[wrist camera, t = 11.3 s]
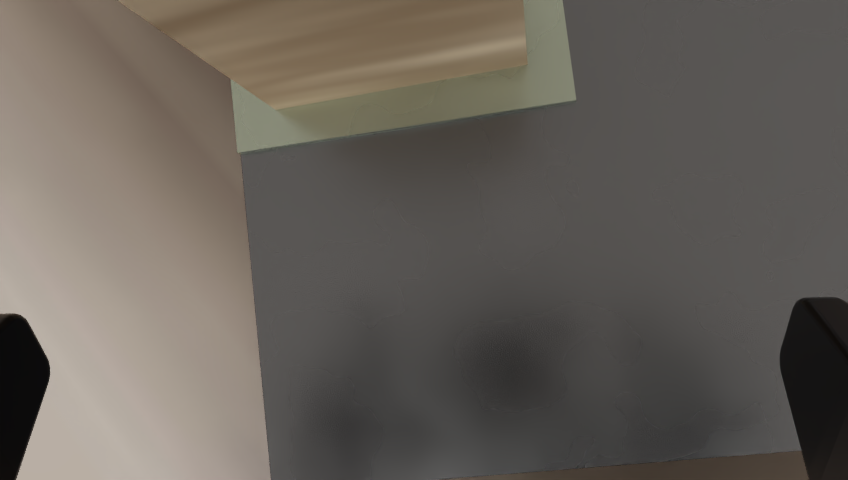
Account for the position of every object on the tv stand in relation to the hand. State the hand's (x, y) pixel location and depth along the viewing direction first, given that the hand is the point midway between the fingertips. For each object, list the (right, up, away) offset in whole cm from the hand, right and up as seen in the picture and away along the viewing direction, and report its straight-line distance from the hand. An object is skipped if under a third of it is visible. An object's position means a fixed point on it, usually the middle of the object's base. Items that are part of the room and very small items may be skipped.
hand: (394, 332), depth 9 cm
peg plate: (+4, +5, +9) cm, 11 cm away
